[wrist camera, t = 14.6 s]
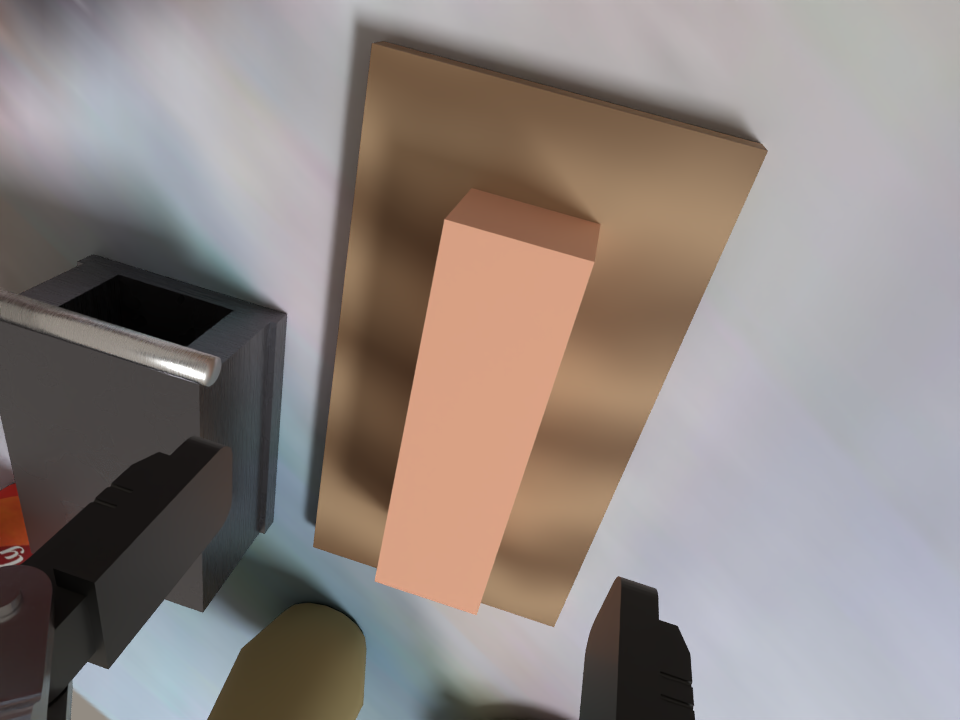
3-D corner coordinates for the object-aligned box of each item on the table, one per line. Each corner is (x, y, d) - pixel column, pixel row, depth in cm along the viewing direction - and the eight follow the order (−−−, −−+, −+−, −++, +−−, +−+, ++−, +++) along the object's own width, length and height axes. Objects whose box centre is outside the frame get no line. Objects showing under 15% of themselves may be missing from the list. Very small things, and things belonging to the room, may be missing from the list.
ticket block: (471, 188, 24) (444, 219, 21) (600, 224, 24) (594, 262, 20) (401, 521, 33) (374, 581, 30) (493, 551, 33) (476, 615, 30)
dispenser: (91, 237, 30) (-34, 291, 25) (287, 297, 30) (206, 367, 24) (116, 469, 38) (25, 551, 32) (273, 521, 37) (208, 614, 32)
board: (383, 41, 23) (371, 43, 22) (761, 143, 22) (767, 150, 21) (322, 531, 37) (313, 547, 36) (556, 609, 36) (553, 627, 35)
